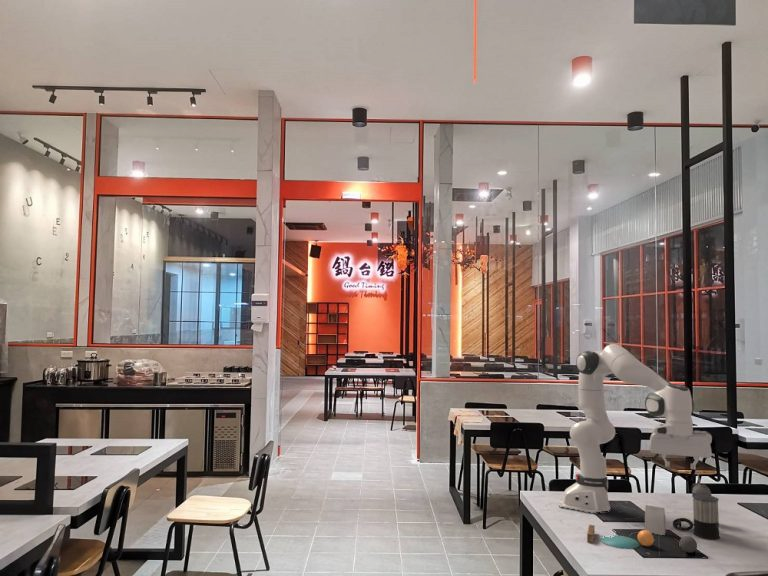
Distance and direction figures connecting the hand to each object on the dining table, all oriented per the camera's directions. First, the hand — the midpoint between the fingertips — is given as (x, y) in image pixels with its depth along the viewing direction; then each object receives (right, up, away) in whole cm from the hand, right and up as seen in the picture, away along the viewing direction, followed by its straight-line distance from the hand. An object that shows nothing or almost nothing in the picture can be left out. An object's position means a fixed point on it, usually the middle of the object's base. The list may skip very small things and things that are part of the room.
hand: (680, 467), depth 206 cm
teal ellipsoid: (-20, -30, +5) cm, 36 cm away
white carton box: (-1, -31, +17) cm, 35 cm away
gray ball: (+1, -26, -3) cm, 27 cm away
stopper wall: (-29, -30, +9) cm, 43 cm away
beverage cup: (+26, -33, +31) cm, 52 cm away
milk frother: (+15, -32, +17) cm, 39 cm away
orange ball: (-12, -27, +2) cm, 29 cm away
